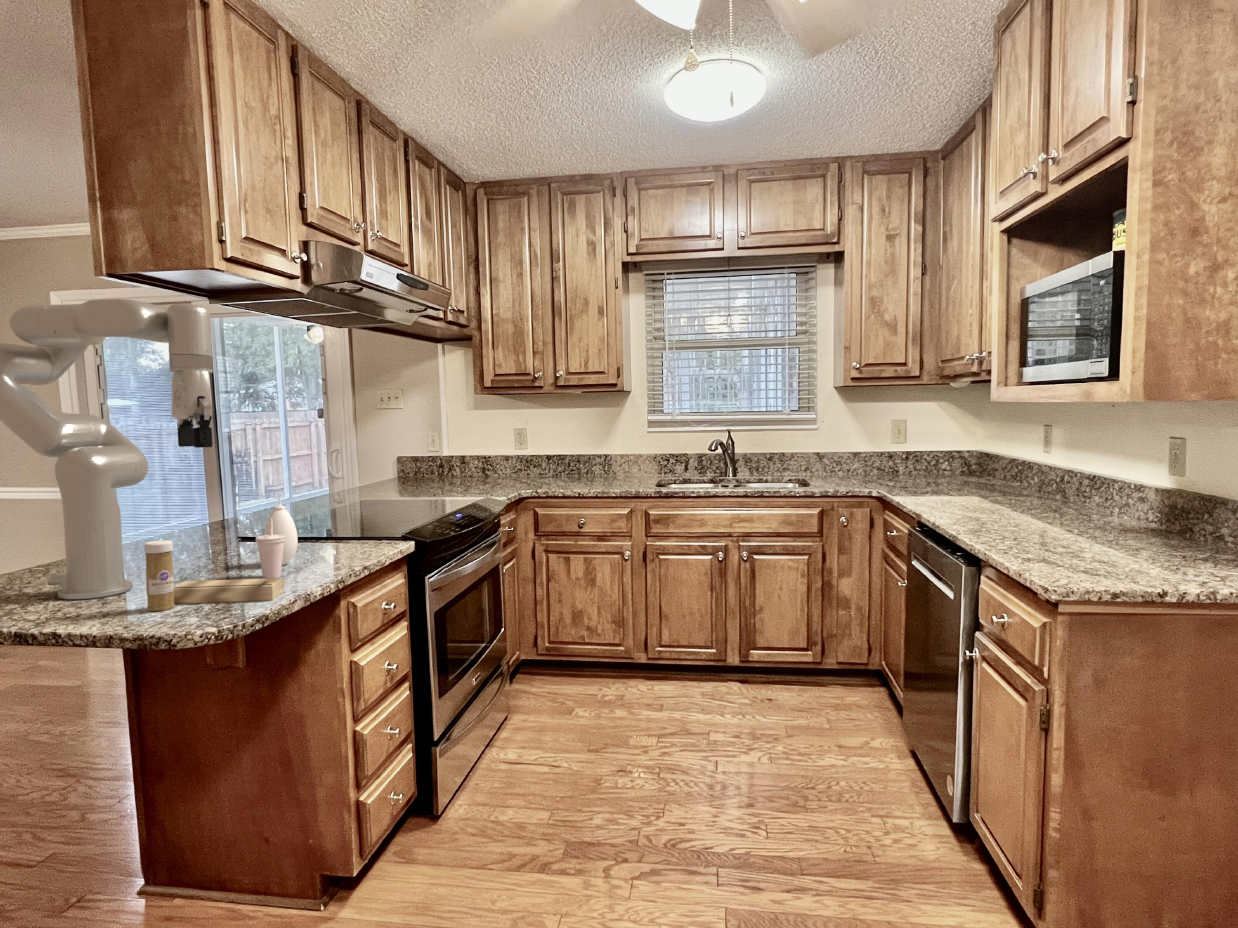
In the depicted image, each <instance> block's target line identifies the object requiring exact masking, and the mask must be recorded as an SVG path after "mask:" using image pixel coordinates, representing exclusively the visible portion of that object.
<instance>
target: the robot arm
mask: <svg viewBox="0 0 1238 928" xmlns="http://www.w3.org/2000/svg"><path fill="white" fill-rule="evenodd" d="M9 327H10V330H11V332H13V334H14V335H15V336H16V337H17V338H18V339H19V340H21V341H23V342H25V343H27V344H30V345H31V346H29V345H22V344H13V343H5V342H4V343H3V342H0V422H2V423H3V424H4V425H5V427H7V428H8V429H9V430H10V431H11V432H12V433H14V434H15V435H16V436H17V437H18V438H19V439H21V441H22V442H24V443H25V444H26V445H28V447H30V448H31V449H32V450H33V451H34V452H36V453H38V454H39V455H40V456H43V457H48V458H57V459H56V462H55V464H54V476H55V479H56V483H57V486H58V489H59V492H60V493H59V494H60V498H61V502H62V515H63V529H64V532H63V533H64V549H65V565H66V567H65V568H66V573H63V574H50V575H48V579H47V586H57V585H58V586H60V587H61V589H59V590H58V591H57V597H58V598H60V599H63V600H88V599H96V598H98V599H99V598H104V597H109V596H113V595H115V596H116V595H118V594H122V593H125V592H127V591H128V592H129V591H130V590H131V589H133V588H134V587H133V586H134V585H133V582H132V581H130V580H126V579H124V560H123V558H124V557H123V538H122V519H121V515H122V514H121V508H120V503H119V502H118V499H117V498H116V496H115V494H114V493H113V492H112V489H117V488H119V489H120V488H125V487H127V488H128V487H131V486H134V485H138V484H139V483H141V482H142V481H143V480H144V479H145V478H146V476H147V475H148V473H149V463H148V460H147V458H146V455H145V453H143V452H142V450H141V449H140V448H139V447H138V446H137V445H135V444H134V443H133V442H132V441H131V440H130V439H128V437H126V436H125V435H124V434H123V433H122V432H121V431H119V430H118V429H117V428H116V427H115V426H114V425H113V424H112V423H110V422H108V421H107V420H105V419H104V418H102V417H99V416H97V415H94V414H89V413H88V414H87V413H70V412H69V413H68V412H63V411H60V410H59V409H58V408H55V407H54V406H53V405H52V404H50V403H49V402H48V401H47V400H46V399H45V398H44V397H42V396H41V395H39V394H38V393H36V392H35V391H33V390H32V389H29V388H27V387H25V386H23V385H29V386H44V385H49V384H52V383H53V382H56V381H58V380H59V379H60V378H61V377H62V376H63V375H64V374H65V373H66V372H67V371H68V370H69V369H70V368H71V366H73V365H74V364H75V362H76V361H78V360H79V358H80V357H81V356H82V355H83V354H84V353H85V351H87V350H88V347H89V346H95V345H99V344H101V343H103V342H104V341H105V340H106V339H107V338H130V339H139V340H145V341H151V342H154V343H155V342H157V343H163V344H164V343H165V344H166V343H167V344H168V355H169V356H168V358H169V372H171V373H172V378H171V379H172V380H171V416H172V418H174V419H175V420H177V423H176V427H177V439H178V440H177V444H178V445H177V446H179V447H184V448H185V447H194V448H196V449H197V448H199V449H200V448H212V447H213V429H212V427H213V423H212V416H213V399H212V388H211V387H212V386H211V379H210V374H213V371H214V368H213V350H212V349H213V348H212V331H211V329H212V328H211V327H212V326H211V314H210V312H209V309H207V308H206V307H204V306H202V305H199V304H192V303H191V304H190V303H175V304H171V305H169V306H168V307H167V306H161V305H158V304H153V303H150V302H149V303H148V302H145V301H140V300H134V299H129V298H128V299H127V298H111V299H110V298H109V299H105V298H104V299H103V298H101V299H90V300H87V301H85V302H82V303H69V304H67V303H66V304H34V305H33V304H32V305H26V306H23V307H21V308H18V309H16V311H14V312H13V313H12V314H11V316H10V318H9ZM32 345H35V346H32Z"/></svg>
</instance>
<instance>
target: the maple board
mask: <svg viewBox="0 0 1238 928" xmlns="http://www.w3.org/2000/svg"><path fill="white" fill-rule="evenodd" d="M284 592H285V578H284V577H276V578H245V579H244V578H243V579H241V578H240V579H237V578H236V579H213V580H212V579H211V580H208V579H207V580H206V579H205V580H183V581H181V582H179V583H177V584H174V591H173V594H174V604H175V605H176V604H177V605H180V604H182V605H183V604H202V603H203V604H204V603H210V604H211V603H234V602H257V601H258V602H259V601H274V600H275V599H276V598H278V597H279V596H280V595H282V594H283V593H284Z"/></svg>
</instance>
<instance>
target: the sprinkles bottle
mask: <svg viewBox="0 0 1238 928" xmlns="http://www.w3.org/2000/svg"><path fill="white" fill-rule="evenodd" d="M173 550H174V546H173V541H172V540H153V541H152V540H151V541H148V542H145V543H144V553H145V554H144V555H145V566H146V568H145V580H146V581H145V585H146V595H147V608H146V609H147V610H146V611H149V612H162V611H167V610H171V609H173V608H175V606H176V604H174V594H173V591H174V586H175V584H174V565H173Z"/></svg>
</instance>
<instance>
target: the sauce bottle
mask: <svg viewBox="0 0 1238 928" xmlns="http://www.w3.org/2000/svg"><path fill="white" fill-rule="evenodd" d="M281 501H282V500H281V496H278V505H276V506H274V507H273V509H274V510H273V511H272V512H271V513H270V515H269V517H268V519H267V521H266V523H265V527H264V531H263V535H270V518H272V525H273V534H279V535H285V539H286V540H285V541H284V548H283V557H282V566H286V564H288V563H290V561H291V560H293V558H294V557H295V555H296V552H297V548H298V543H299V541H298V539H299V538H298V531H297V528H296V524H295V522H294V520H293V517H292V516H291V514H290V513H289V511H288V510H287V509H286V505H282V502H281Z"/></svg>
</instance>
